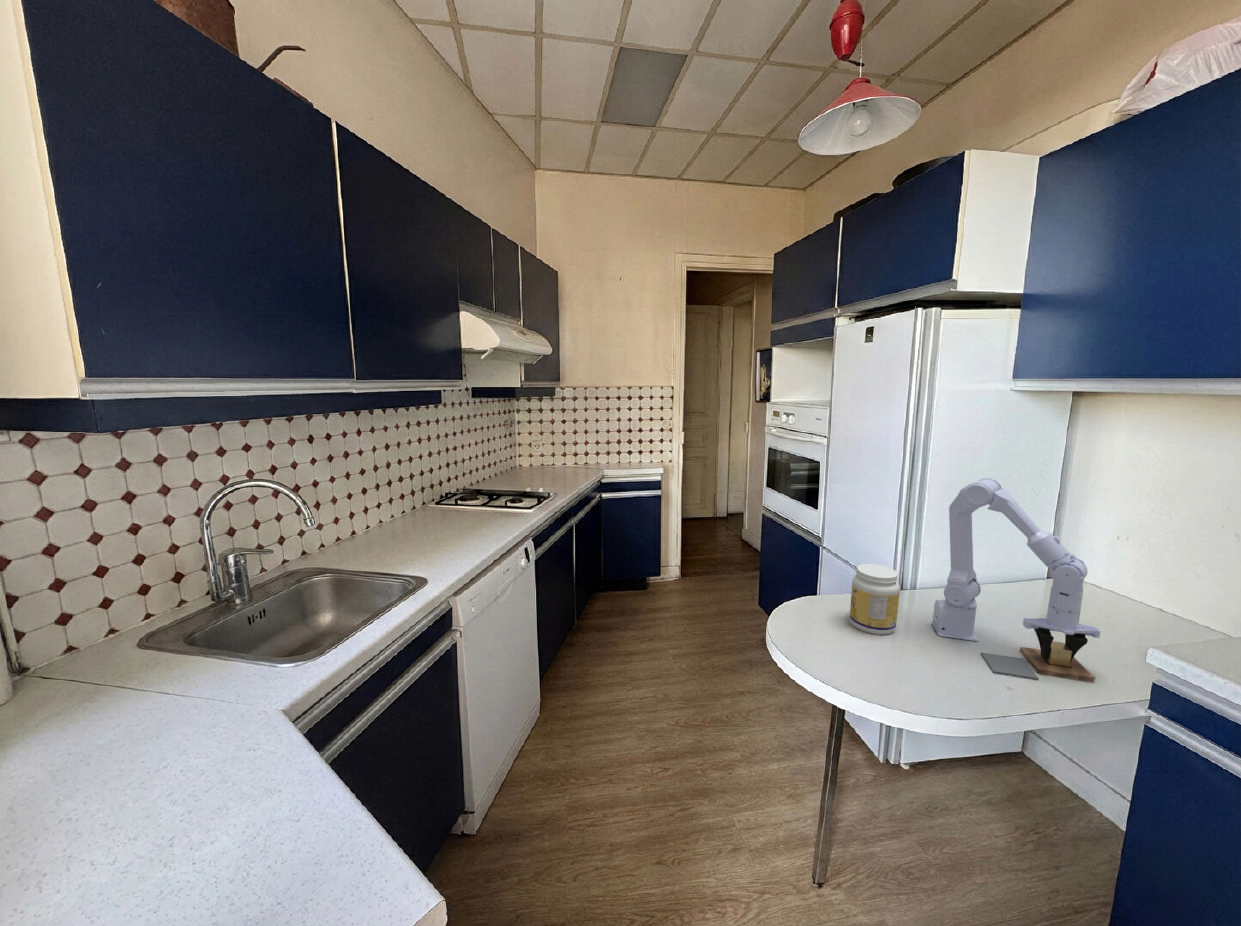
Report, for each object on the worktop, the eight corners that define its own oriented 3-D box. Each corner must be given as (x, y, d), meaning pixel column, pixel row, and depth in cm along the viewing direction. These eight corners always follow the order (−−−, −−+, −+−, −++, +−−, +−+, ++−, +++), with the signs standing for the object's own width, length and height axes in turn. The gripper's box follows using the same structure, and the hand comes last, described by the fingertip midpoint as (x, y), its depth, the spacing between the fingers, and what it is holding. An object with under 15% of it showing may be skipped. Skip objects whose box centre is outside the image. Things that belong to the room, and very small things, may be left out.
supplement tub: (846, 613, 152) (850, 560, 149) (890, 618, 148) (895, 564, 145) (852, 632, 140) (857, 576, 137) (900, 638, 137) (906, 581, 134)
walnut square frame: (1038, 673, 120) (1038, 669, 120) (1019, 650, 130) (1020, 646, 130) (1094, 682, 117) (1094, 677, 117) (1070, 658, 127) (1071, 654, 127)
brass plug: (1048, 668, 122) (1051, 648, 122) (1041, 659, 126) (1044, 639, 125) (1068, 671, 121) (1072, 650, 120) (1060, 662, 125) (1063, 642, 124)
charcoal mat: (993, 672, 121) (993, 671, 121) (980, 653, 129) (980, 651, 129) (1038, 680, 118) (1038, 678, 118) (1022, 660, 126) (1022, 658, 126)
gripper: (1035, 610, 120) (1027, 661, 122) (1111, 619, 115) (1101, 673, 117) (1022, 597, 126) (1015, 647, 129) (1094, 606, 122) (1085, 657, 124)
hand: (1055, 658), depth 123 cm, fingers closed on brass plug, 4 cm apart
